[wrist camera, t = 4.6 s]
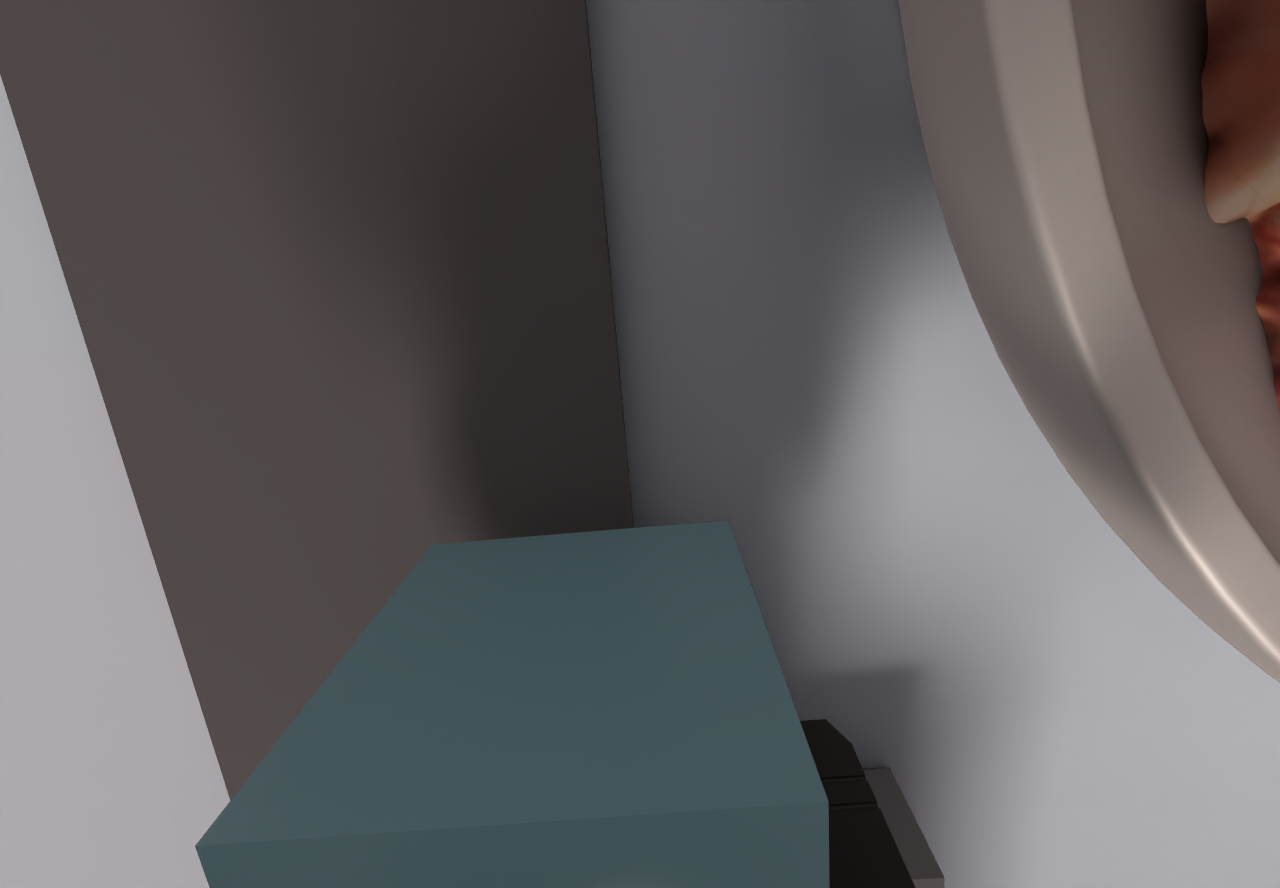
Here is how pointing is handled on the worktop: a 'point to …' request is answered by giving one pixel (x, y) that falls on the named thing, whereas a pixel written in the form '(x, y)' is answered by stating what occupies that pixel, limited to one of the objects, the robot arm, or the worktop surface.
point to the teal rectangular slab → (544, 732)
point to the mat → (327, 301)
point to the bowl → (1129, 262)
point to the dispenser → (904, 829)
